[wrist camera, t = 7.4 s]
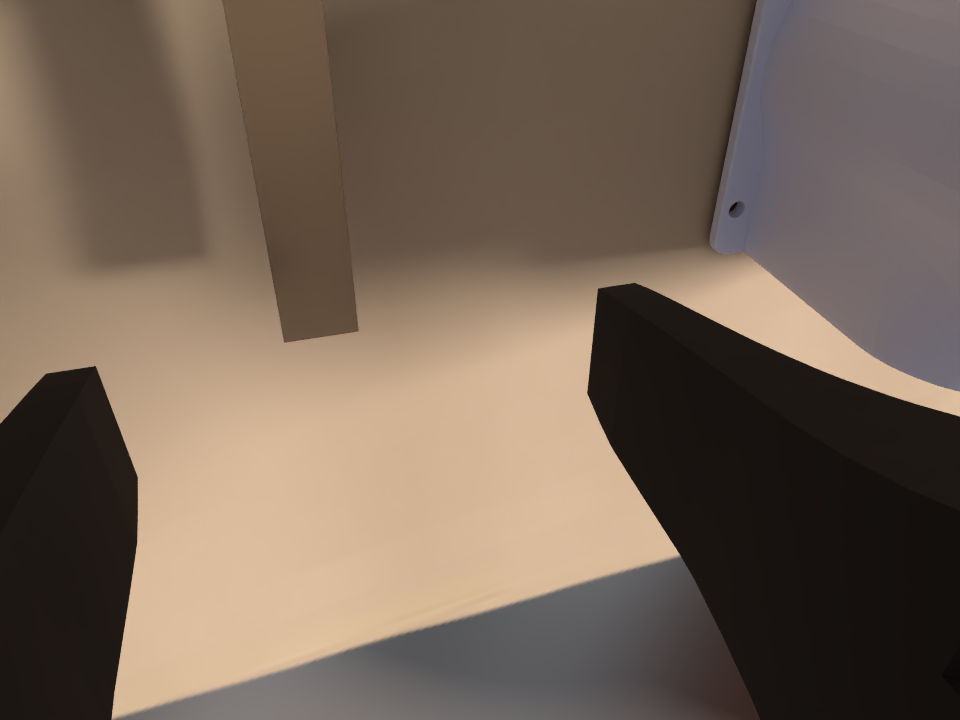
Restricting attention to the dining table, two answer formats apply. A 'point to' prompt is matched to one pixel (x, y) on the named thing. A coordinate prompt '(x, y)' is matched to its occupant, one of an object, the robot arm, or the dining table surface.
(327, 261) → the pot
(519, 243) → the dining table surface
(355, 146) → the dining table surface
